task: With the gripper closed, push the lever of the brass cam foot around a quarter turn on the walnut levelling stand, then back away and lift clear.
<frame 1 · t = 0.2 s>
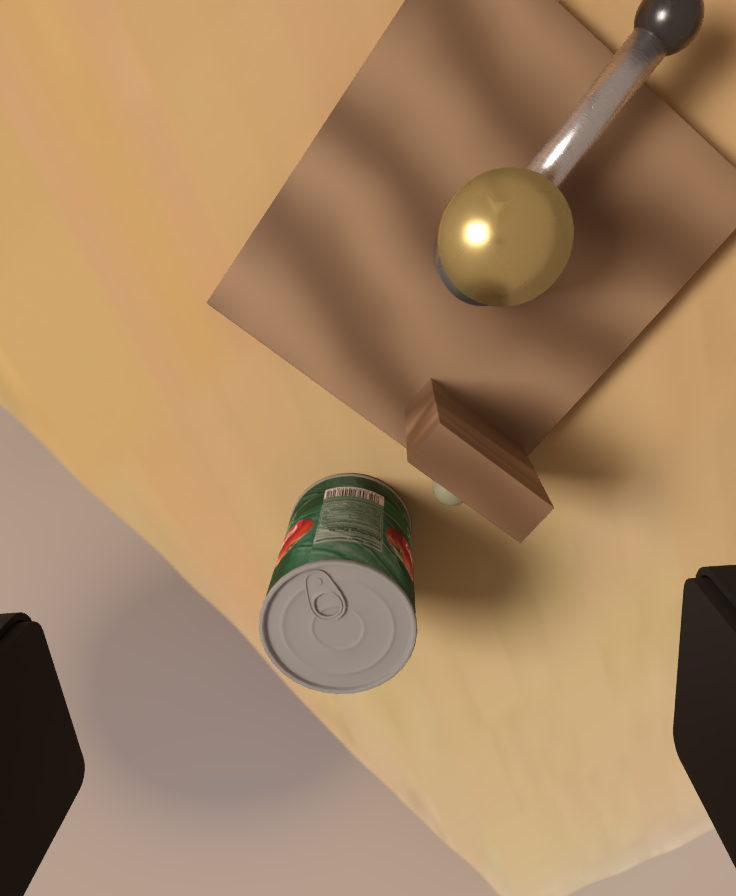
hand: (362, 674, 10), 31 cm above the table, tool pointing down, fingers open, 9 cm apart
lever: (563, 152, 31), point 4 cm above the table, hinge at 0.0°
canned tomato: (350, 526, 43), on the table
stand: (471, 249, 37), on the table
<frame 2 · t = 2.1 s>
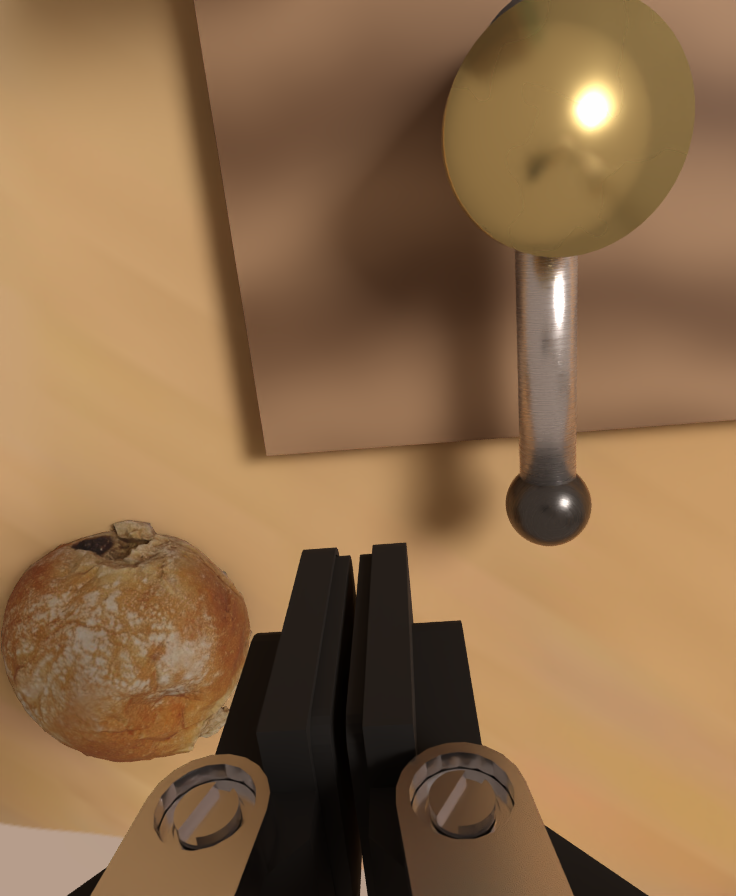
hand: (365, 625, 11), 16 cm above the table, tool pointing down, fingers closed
lever: (547, 306, 20), point 4 cm above the table, hinge at 0.0°
bread roll: (152, 618, 30), on the table
stand: (518, 112, 22), on the table
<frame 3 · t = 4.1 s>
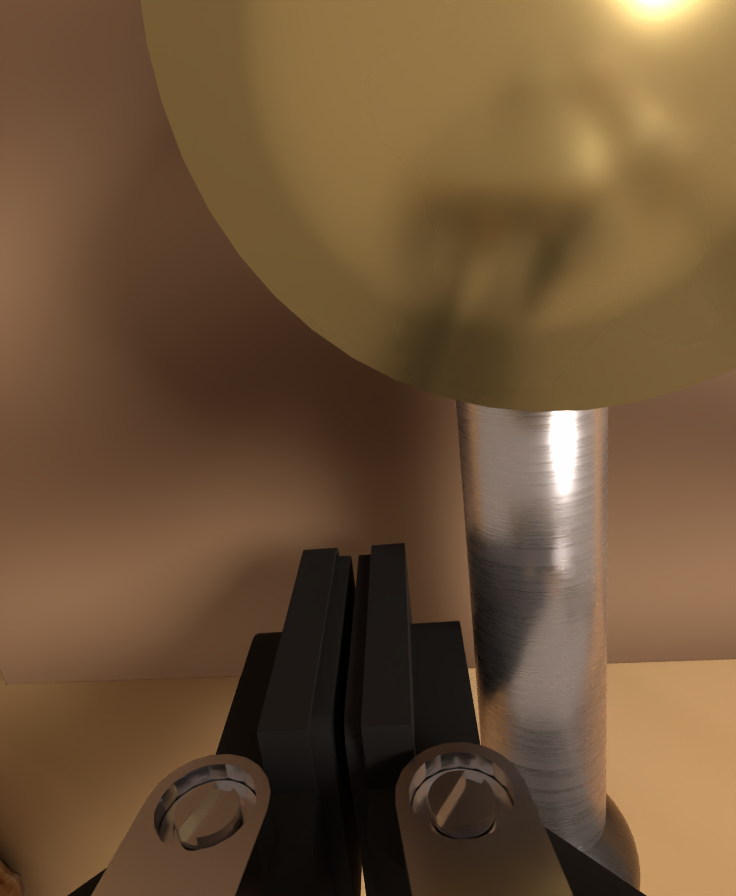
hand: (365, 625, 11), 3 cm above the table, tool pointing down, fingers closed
lever: (534, 476, 8), point 4 cm above the table, hinge at 1.7°, touching gripper
stand: (472, 32, 11), on the table
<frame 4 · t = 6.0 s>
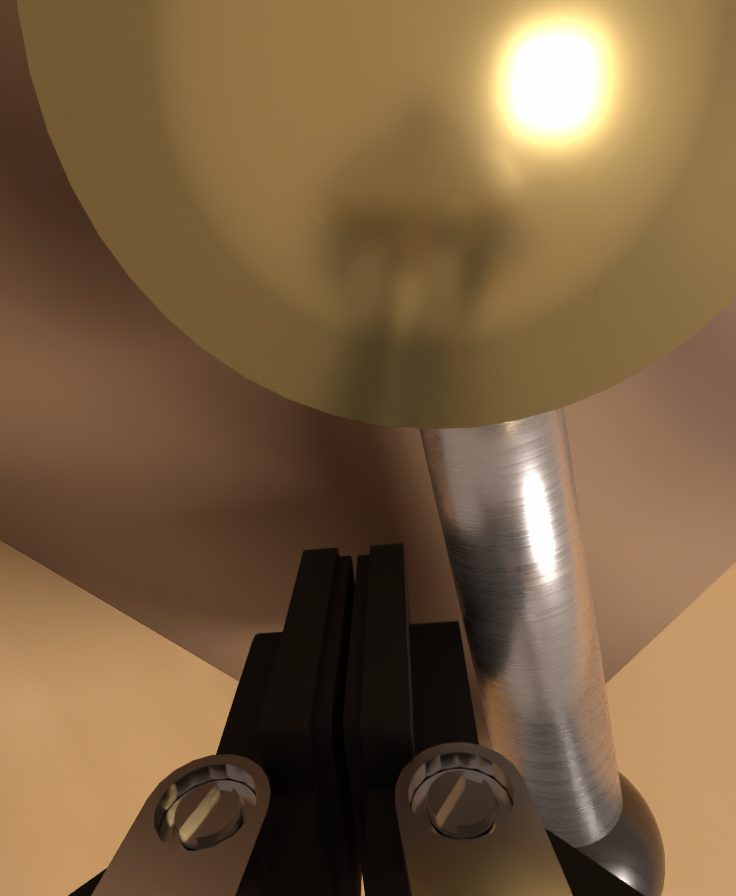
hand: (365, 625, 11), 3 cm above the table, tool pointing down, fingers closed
lever: (502, 478, 9), point 4 cm above the table, hinge at 49.6°, touching gripper
stand: (398, 48, 11), on the table
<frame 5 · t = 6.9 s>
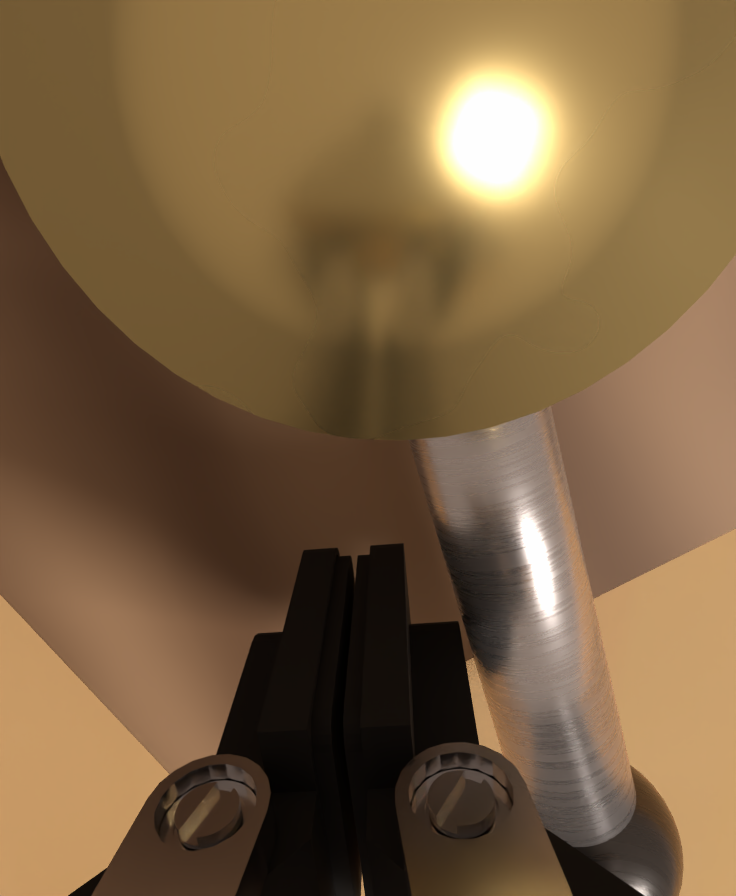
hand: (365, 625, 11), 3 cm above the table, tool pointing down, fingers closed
lever: (493, 480, 9), point 4 cm above the table, hinge at 74.3°, touching gripper
stand: (370, 52, 11), on the table
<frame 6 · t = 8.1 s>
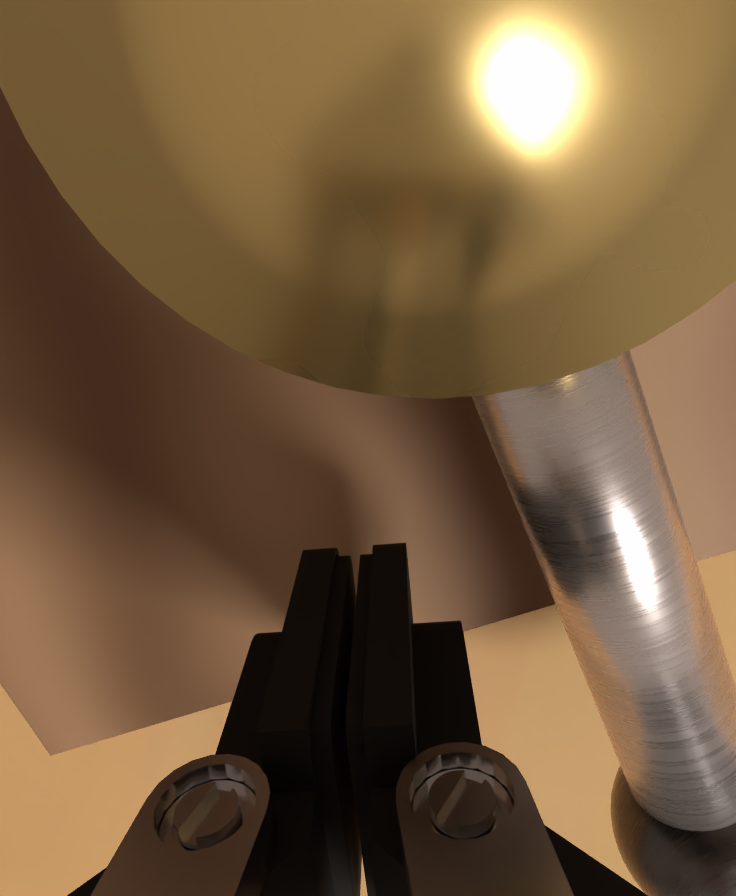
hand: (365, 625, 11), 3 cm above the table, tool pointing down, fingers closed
lever: (573, 441, 8), point 4 cm above the table, hinge at 92.6°
stand: (380, 11, 10), on the table
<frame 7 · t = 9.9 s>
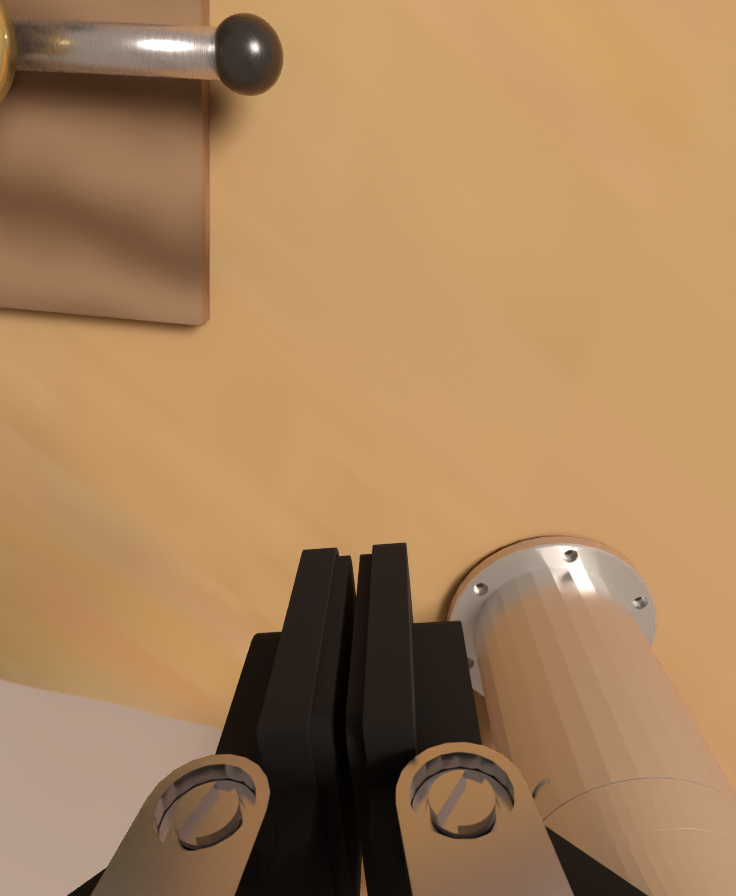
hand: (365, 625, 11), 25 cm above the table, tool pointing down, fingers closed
lever: (76, 46, 26), point 4 cm above the table, hinge at 92.6°
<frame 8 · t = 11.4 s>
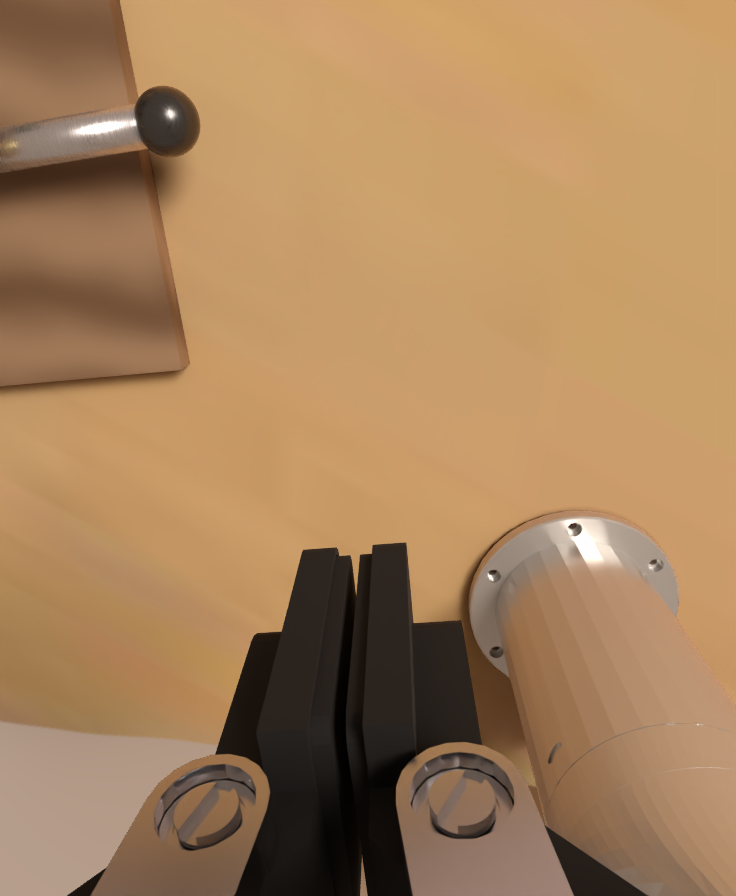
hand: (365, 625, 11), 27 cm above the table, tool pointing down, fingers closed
lever: (21, 146, 30), point 4 cm above the table, hinge at 92.6°
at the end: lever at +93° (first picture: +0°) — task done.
